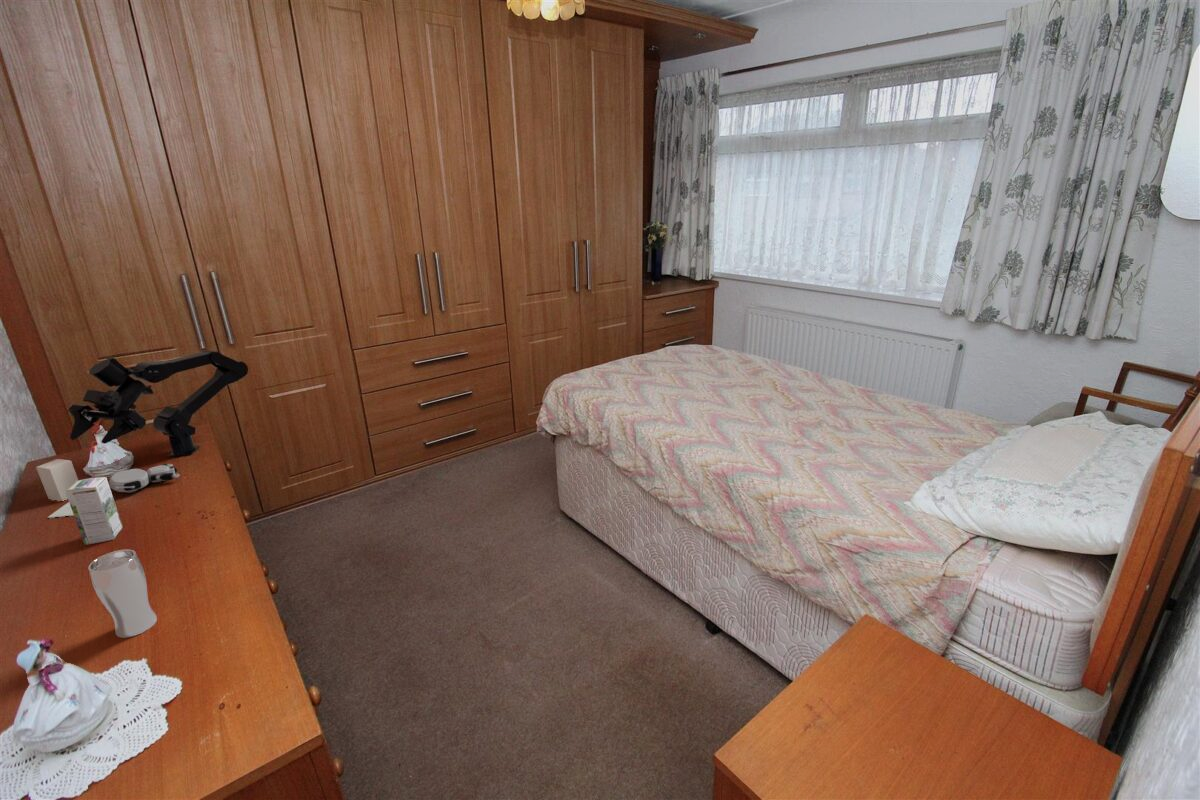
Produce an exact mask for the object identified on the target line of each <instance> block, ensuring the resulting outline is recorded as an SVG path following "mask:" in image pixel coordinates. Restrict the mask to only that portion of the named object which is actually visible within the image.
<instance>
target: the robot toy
mask: <svg viewBox="0 0 1200 800" xmlns="http://www.w3.org/2000/svg"><path fill="white" fill-rule="evenodd" d="M177 472H178V469H177V468H176V467H175V466H174V464H172V463H167V464H166V463H164V464H160V465H156V466H153V467H150V468H148V469H147V470H143V469H141V468H130V469H126V470H121V471H117V472H109V473H108V475H110V477H109V481H108V484H109V487H110V489H112V490H113V491H115V492H118V493H129V494H130V493H135V492H138V490H141V489H143V488H145V487H146V486H147V485H148V484H149V483H150V482H151V483H153V484H154V483H161V481H164V482H166V481H165V480H167V481H170V480H171V481H172V480H173V479H177V478H180V476H181V474H179V473H177Z"/></svg>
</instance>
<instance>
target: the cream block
mask: <svg viewBox="0 0 1200 800" xmlns="http://www.w3.org/2000/svg"><path fill="white" fill-rule="evenodd" d="M35 469H36V471H37V473H38V476H39V478H40V479H39V480H40V481H41V482H42V483H41V484H42V486H43V488H44V490H45V493H46V495H47V498H48V500H49V499H51V500H50V501H54V500H57V501H56V502H60V501H64V500H66V501H68V500H67V499H68V497H67V495H66V491H67V490H68V489H69V488H70V487H71V486H73V485H74V484H75V483H76V482H77V481H79V478H78V475H77V473H76V470H75V468H74V464H73V462H72V460H69V459H63V458H62V459H61V458H56V459H52V460H51V461H47V462H45V463H43V464H40V465H38V466H35ZM64 502H65V501H64Z"/></svg>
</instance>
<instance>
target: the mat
mask: <svg viewBox="0 0 1200 800" xmlns="http://www.w3.org/2000/svg"><path fill="white" fill-rule="evenodd" d="M65 516H69V517H74V514H73V511H72V509H71V506H70V503H69V501H68V502H67V503H65V504H64V505H63V506H61V507H60V508H58V509H56V511H54V512H53V513H51V514H50V515H48V516H47V519H48V518H49V519H56V518H55V517H59V518H66V517H65Z"/></svg>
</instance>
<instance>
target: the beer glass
mask: <svg viewBox="0 0 1200 800" xmlns="http://www.w3.org/2000/svg"><path fill="white" fill-rule="evenodd" d="M87 569H88V571H89V576H90V579H91V580H90V581H91V583H92V586H93V588H94V591H95V594H96V595H97V598H98V599H99V601H100V602H101V603H102V604H103V606H104V607H105V608H106V610H107V611H108V613H109V614H110V615H111V617H112V619H113V623H114V629H115V631H114V632H115V635H116V637H118V638H121V639H127V638H132V637H136V636H138V635H140V634H141V635H142V634H143V633H145V632H147V631H148V630H149V629H151V628H153V626H154V625H155V624H156V623H157V620H158V617H157V614H156V613H155V612H154V611H153V609H152V606H151V605H150V602H149V597H148V584H147V578H146V574H145V570H144V567H143V565H142V563H141V561H140V559H139V557H138V555H137V553H136V551H135V550H133V549H129V548H126V549H120V550H119V549H118V550H114V551H112V552H111V551H110V552H108V553H106V554H103V555H101V556H99V557H97V558H95V559H94V560H93V561H91V562H90V564H89V565H88V568H87Z"/></svg>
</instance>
